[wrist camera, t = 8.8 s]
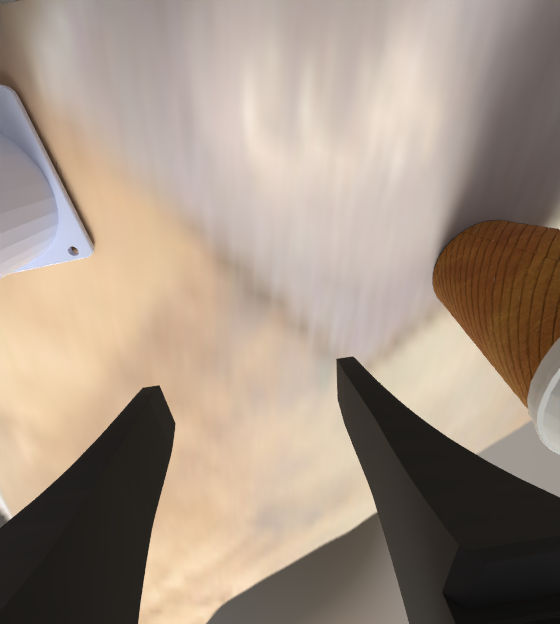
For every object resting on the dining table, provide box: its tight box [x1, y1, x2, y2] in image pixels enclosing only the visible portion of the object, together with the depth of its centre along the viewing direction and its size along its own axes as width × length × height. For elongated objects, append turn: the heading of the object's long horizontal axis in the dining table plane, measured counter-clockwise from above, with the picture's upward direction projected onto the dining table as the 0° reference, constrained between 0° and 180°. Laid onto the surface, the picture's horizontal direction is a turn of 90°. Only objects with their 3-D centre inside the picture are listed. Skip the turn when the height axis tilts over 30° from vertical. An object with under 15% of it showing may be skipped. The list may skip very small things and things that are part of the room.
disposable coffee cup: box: [433, 220, 560, 455], centre depth 15 cm, size 10×10×12 cm
